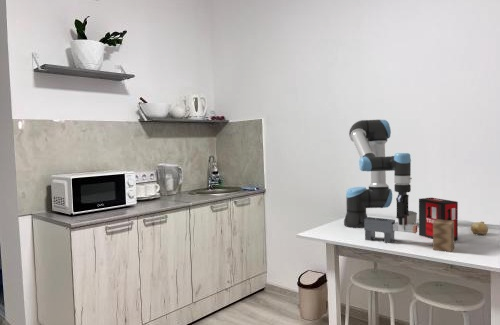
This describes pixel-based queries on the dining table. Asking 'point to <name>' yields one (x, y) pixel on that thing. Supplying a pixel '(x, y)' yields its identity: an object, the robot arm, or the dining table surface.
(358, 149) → the robot arm
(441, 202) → the cleaning product box
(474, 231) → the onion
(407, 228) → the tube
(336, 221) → the dining table surface
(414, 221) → the teacup
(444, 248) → the socket block
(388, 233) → the grey arched bench
